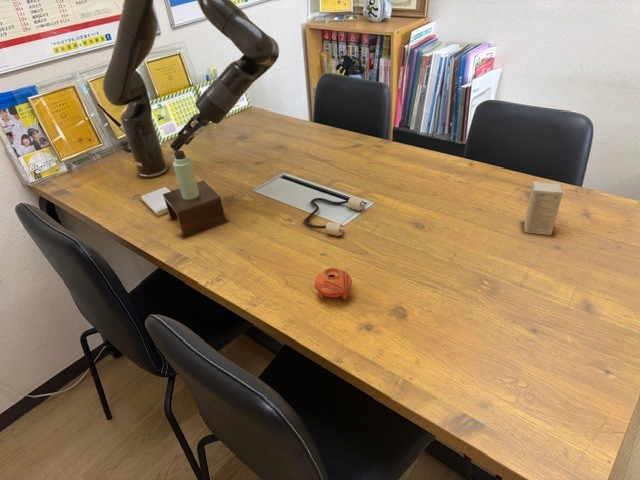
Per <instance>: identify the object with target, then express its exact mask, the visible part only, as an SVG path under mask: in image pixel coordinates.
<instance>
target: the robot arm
mask: <svg viewBox="0 0 640 480" xmlns="http://www.w3.org/2000/svg"><path fill="white" fill-rule="evenodd" d="M196 2H197V4H198V6H199V9H200V10H201V12H202V14H203V16H204V17H205V18H206V20H207V21H208V22H209V23H210V24H211V25H212V26H213V27H214V28H215V29H217V30H218V31H219V32H220V33H221V34H222V35H223V36H225V37H226V38H227V39H228V40H230V41H231V42H232V44H233V45H234V46H235V47H236V48H237V49H238V50H239V51H240V52H241V54H242V56H240V58H238V59H236V60H233V61H231V63H229V64H228V65H227V66H226V67H225V69H224V70H223V71H222V72H221V73H220V75H219V76H217V78H216V79H214V80H213V81H212V82H211V83H210V85H208V87H207V88H206V89H205V90H204V91H203V92H202V94H200V96H199V97H198V98H197V100H195V103H194V104H195V105H194V106H195V107H196V109H197V110H198V112H196V114H193V115H191V117H190V118H189V120H188V121H187V122H186V123H185V124H184V125H183V127H182V128H181V129H180V131H178V132H177V137H176V138H175V139H174V140H173V142H172V143H170V148H171V149H172V150H173V151H174V152H177V151H180V149H182V147H183V146H184V145H185V146H188V145H189V144H190V143H191V142H192V141H193V140H194V138H195V137H196V136H199V135H200V134H201V133H202V132H204V130H205V129H207V127H208V126H209V125H210V122H211V123H213V124H220V123H221V122H222V121H223V119H224V118H226V116H227V115H229V114H230V112H231V110H232V109H233V108H234V107H235V106H236V105H237V103H238V102H239V101H240V99H241V98H242V96H243V95H245V94H246V92H247V91H248V90H249V89H250V87H251V86H252V85H253V84H254V82H256V81H257V80H258V79H259V78H261V77H262V76H263V75H264V74H265V73H266V72H268V71H269V70H270V69H271V68H272V67H273V66H274V64H275V63H276V62H277V61H278V58H279V56H280V46H279V44H278V42H277V40H276V39H275V38H273V37H272V36H270V35H269V34H267V33H266V32H265V31H264V30H262V29H261V28H260V27H259V26H258V25H256V24H255V23H254V22H253V21H252V20H250V18H249V17H248V15H247V14H246V13H245V12H244V11H243V10H242V9H241V8H240V7H239V6H237V4H236V3H234V2H233V1H232V0H196ZM158 21H159V20H158V18H157V14H156V10H155V8H154V0H123V5H122V11H121V14H120V18H119V22H118V26H117V33H116V38H115V42H114V45H113V49H112V54H111V57H110V61H109V64H108V66H107V69H106V71H105V74H104V77H103V80H102V90H103V94H104V96H105V98H106V100H107V101H108V103H110V104H111V105H113V106H115V107H122V106H123V107H124V106H127V107H126V108H125V110H124V111H123V113H122V114H121V115H120V123H121V126H122V128H123V131H124V134H125V137H126V139H127V143H128V145H129V148H127V147H126V145H127V143H126V142H125V141H123V142H122V148H123V150H125V151H127V152H131V154H132V157H133V161H134V165H135V166H136V169H137V173H138V175H139V177H141V178H145V179H149V178H155V177H159V176H161V175H163V174H165V173H166V172H167V171H168V165H167V163H166V158H165V156H164V153H163V149H162V146H161V143H160V140H159V137H158V133H157V130H156V126H155V124H154V120H153V116H152V113H153V110H152V109H153V108H152V105H151V101H150V97H149V92H148V89H147V85H146V82H145V81H144V78H143V76H142V75H141V74H140V72H139V71H138V70H137V69H138V68H139V67H140V66H141V65H142V63H143V62H144V61H145V60H146V58H148V56H149V54H150V53H151V51H152V50H153V47H154V44H155V41H156V38H157V35H158V31H159V30H158V29H159V22H158ZM185 132H186V133H185Z"/></svg>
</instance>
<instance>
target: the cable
mask: <svg viewBox="0 0 640 480" xmlns="http://www.w3.org/2000/svg"><path fill="white" fill-rule="evenodd" d="M317 201H321V202H326V203H328V204H331V205H344V204H347V206H348V208H350V209H353V210H356V211H359V212H360V211H363V207H366V204H365V203H364V200H363V199H360V198H358V197H355V196H351V197H349V199H346V200H343V201H334V200H330V199H327V198H323V197H315V198H313V199H311V200H310V205H312V206H313V207H315V209H314V210H313V211H312V212H311V213H309V215H307V216H306V218H305V219H304V224H305V225H306V226H307V227H309V228H313V229H325V233H326V234H328V235H333V236H337V237H339V236H343V232H344V231H345V228H343V226H342V223H337V222H333V221H329V222H327V224H326V225H317V224H312V223H309V220H310V219H311V218H312V217H313V216H314V215H315V214H317V213H318V211H319V210H320V206H319V205H318V204H316V203H315V202H317Z"/></svg>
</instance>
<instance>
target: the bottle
mask: <svg viewBox="0 0 640 480" xmlns="http://www.w3.org/2000/svg"><path fill="white" fill-rule="evenodd" d="M173 155H174V161H173V162H172V167H173V170H174V174H175V176H176V180H177V184H178V188H179V189H180V191H181V194H182V198H183V199H185V200H191V199H195V198H197V197H198V196H199V194H200V193H199V189H198V186H197V182H198V181H197V179H196V173H195V171H194V167H193V163H192V160H191V159H190V158H188V157H187V155H185V151H184V150H178V151H177V152H176V151H174V153H173Z"/></svg>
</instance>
